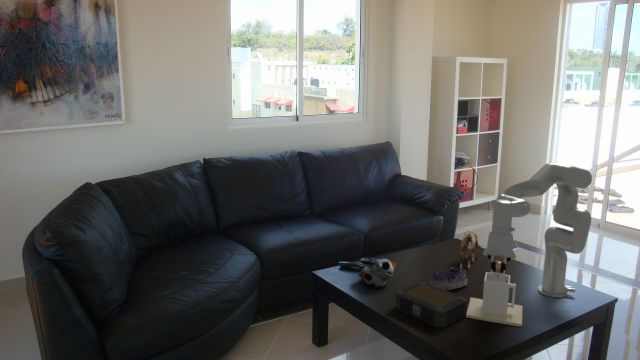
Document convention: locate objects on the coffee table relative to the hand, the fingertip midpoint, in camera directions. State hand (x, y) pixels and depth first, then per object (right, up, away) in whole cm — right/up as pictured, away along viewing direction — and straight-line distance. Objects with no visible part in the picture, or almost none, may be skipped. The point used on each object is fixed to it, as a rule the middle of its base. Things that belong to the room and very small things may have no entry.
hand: (498, 270), depth 214 cm
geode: (-13, -14, +31) cm, 36 cm away
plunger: (0, -17, +4) cm, 17 cm away
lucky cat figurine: (-47, -12, +36) cm, 61 cm away
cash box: (-28, -19, +5) cm, 34 cm away
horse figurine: (+7, -8, +58) cm, 59 cm away
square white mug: (0, -19, +4) cm, 19 cm away
